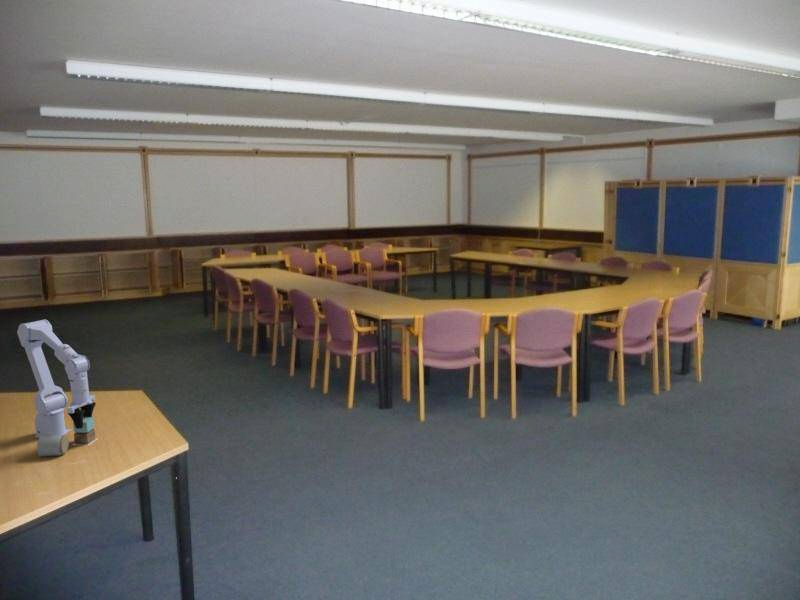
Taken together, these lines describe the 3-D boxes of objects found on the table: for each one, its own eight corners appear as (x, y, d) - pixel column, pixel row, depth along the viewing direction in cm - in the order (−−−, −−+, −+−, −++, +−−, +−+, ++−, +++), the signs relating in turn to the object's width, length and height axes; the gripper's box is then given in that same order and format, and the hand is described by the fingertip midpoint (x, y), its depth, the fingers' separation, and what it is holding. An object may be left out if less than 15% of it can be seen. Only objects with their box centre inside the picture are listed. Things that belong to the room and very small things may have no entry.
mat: (61, 446, 231) (61, 446, 231) (75, 437, 240) (75, 436, 240) (87, 447, 231) (87, 446, 231) (100, 437, 240) (100, 437, 240)
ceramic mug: (63, 458, 222) (60, 437, 220) (37, 460, 221) (35, 439, 219) (73, 446, 232) (71, 426, 231) (49, 448, 231) (47, 428, 230)
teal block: (74, 432, 232) (73, 422, 232) (81, 427, 237) (80, 417, 236) (87, 432, 232) (86, 422, 231) (94, 427, 237) (93, 417, 236)
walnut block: (74, 444, 233) (73, 433, 232) (82, 438, 238) (81, 428, 237) (88, 444, 233) (87, 434, 232) (95, 439, 238) (94, 428, 237)
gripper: (79, 396, 224) (83, 432, 227) (101, 383, 239) (104, 418, 241) (60, 396, 225) (64, 432, 227) (82, 383, 239) (86, 417, 242)
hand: (83, 425), depth 234 cm, fingers closed on teal block, 5 cm apart
